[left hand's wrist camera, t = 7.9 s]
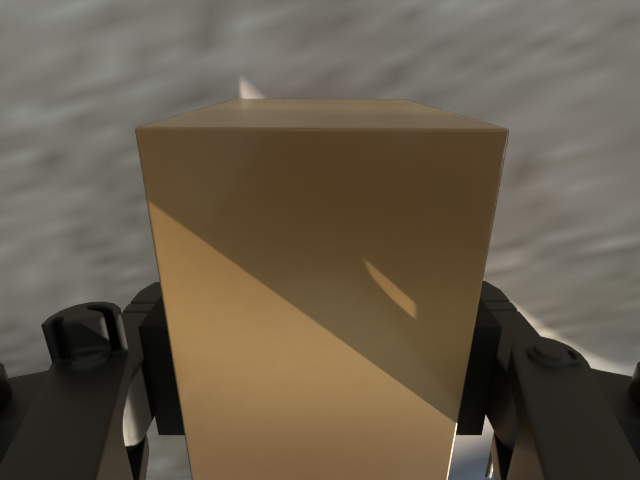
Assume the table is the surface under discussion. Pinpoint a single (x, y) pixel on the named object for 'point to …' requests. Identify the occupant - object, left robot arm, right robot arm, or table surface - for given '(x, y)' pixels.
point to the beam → (320, 281)
